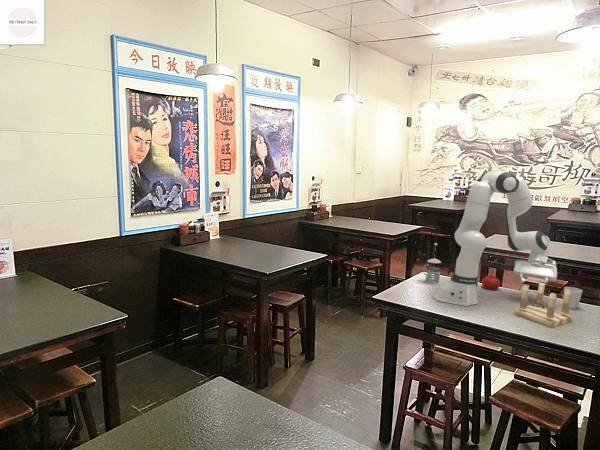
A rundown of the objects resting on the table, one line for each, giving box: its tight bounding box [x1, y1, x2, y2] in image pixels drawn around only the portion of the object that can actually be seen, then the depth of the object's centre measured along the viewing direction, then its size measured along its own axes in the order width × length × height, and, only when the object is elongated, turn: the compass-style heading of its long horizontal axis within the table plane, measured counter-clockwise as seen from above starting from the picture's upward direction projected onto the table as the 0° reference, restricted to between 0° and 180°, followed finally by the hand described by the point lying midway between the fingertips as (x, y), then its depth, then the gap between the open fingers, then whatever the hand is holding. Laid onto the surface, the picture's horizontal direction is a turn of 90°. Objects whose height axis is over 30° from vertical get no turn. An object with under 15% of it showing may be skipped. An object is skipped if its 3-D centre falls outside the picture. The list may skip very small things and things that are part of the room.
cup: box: [563, 286, 583, 310], centre depth 220 cm, size 8×8×10 cm
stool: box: [513, 284, 574, 329], centre depth 203 cm, size 18×18×16 cm
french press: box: [422, 242, 442, 287], centre depth 254 cm, size 10×12×25 cm
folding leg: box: [534, 280, 547, 305], centre depth 214 cm, size 3×3×12 cm
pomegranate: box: [481, 272, 501, 291], centre depth 249 cm, size 10×10×9 cm
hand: (532, 283), depth 219 cm, fingers open, 8 cm apart
